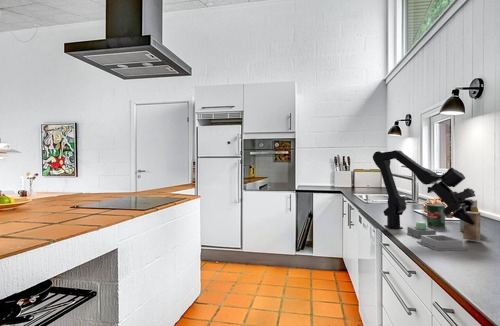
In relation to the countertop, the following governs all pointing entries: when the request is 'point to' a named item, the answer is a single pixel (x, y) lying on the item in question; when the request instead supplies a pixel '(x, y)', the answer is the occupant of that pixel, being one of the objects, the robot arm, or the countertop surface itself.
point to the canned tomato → (435, 215)
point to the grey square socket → (441, 242)
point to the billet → (472, 227)
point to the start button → (421, 225)
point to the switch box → (420, 231)
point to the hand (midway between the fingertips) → (475, 223)
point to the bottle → (474, 209)
